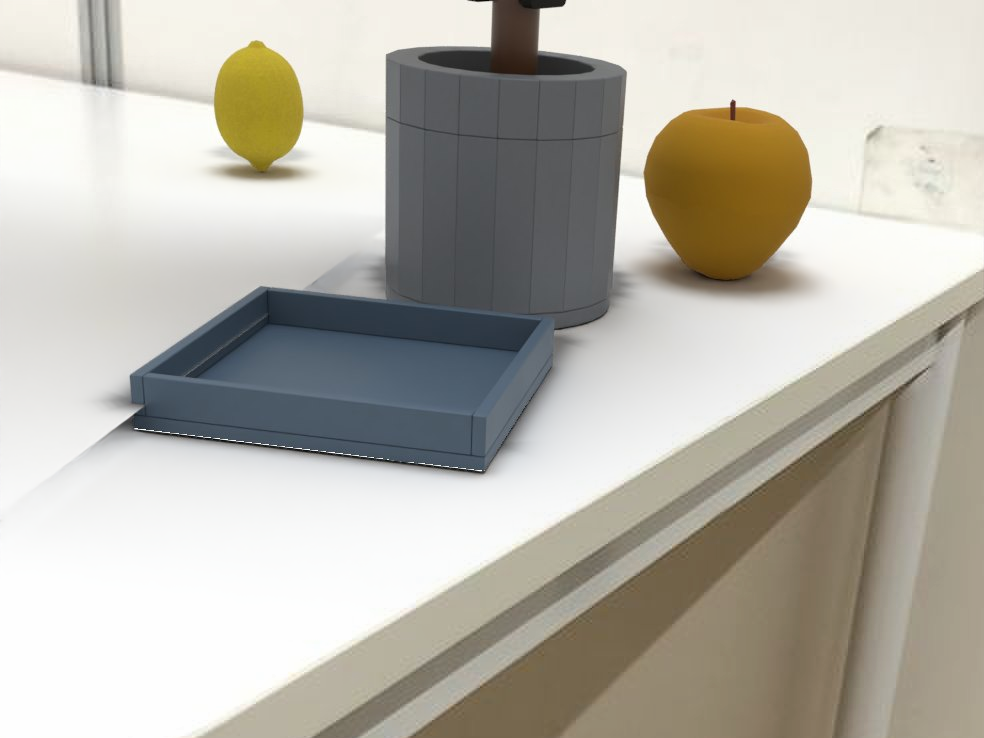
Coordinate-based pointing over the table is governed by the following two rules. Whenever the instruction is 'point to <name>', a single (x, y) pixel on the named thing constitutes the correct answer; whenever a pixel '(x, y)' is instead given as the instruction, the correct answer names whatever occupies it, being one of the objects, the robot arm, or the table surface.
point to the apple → (727, 187)
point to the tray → (350, 377)
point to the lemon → (258, 105)
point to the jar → (502, 182)
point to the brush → (514, 38)
